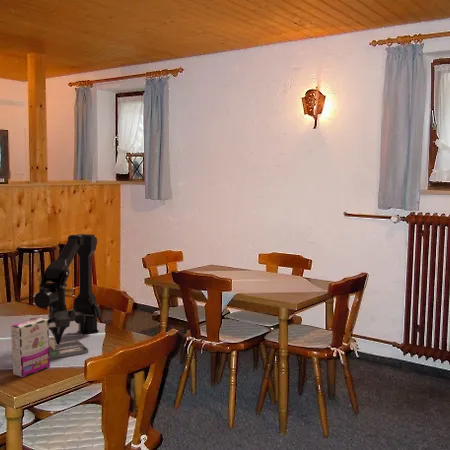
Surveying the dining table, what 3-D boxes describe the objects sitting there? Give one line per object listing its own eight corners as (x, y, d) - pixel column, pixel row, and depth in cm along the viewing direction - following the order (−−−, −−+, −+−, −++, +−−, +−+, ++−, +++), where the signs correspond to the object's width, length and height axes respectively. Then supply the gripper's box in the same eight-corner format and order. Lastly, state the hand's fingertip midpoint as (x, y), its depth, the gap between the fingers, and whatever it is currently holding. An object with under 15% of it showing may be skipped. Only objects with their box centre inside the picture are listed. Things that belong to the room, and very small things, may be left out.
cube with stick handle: (52, 347, 195) (51, 336, 195) (58, 353, 189) (57, 342, 189) (40, 349, 193) (40, 338, 193) (46, 355, 187) (46, 344, 186)
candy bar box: (40, 364, 182) (39, 316, 181) (50, 367, 180) (49, 319, 178) (11, 374, 173) (10, 324, 171) (21, 378, 170) (20, 327, 168)
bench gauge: (76, 342, 205) (76, 329, 204) (88, 352, 194) (88, 338, 194) (24, 351, 195) (24, 337, 194) (33, 362, 184) (33, 347, 183)
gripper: (35, 310, 181) (36, 355, 183) (90, 302, 191) (90, 345, 193) (27, 302, 190) (28, 346, 192) (79, 296, 200) (80, 337, 202)
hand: (57, 344), depth 194 cm, fingers closed
